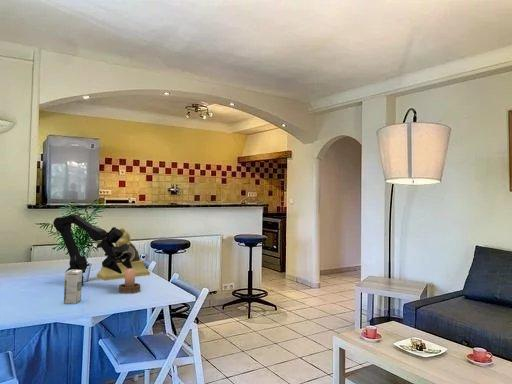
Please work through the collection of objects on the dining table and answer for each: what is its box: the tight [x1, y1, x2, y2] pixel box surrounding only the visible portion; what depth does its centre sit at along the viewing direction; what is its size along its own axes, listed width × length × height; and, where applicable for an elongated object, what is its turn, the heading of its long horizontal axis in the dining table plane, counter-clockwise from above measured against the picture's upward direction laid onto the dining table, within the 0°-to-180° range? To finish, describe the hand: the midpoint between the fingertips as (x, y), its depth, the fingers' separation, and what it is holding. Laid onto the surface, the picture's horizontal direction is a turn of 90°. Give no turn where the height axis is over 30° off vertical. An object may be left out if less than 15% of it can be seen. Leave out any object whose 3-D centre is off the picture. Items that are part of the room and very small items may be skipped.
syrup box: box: [63, 270, 83, 305], centre depth 177 cm, size 6×6×14 cm
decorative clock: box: [96, 227, 151, 282], centre depth 235 cm, size 28×13×30 cm, turn 130°
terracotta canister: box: [124, 268, 136, 287], centre depth 199 cm, size 5×5×11 cm
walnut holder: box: [118, 282, 141, 295], centre depth 198 cm, size 10×10×3 cm
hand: (126, 271), depth 199 cm, fingers open, 9 cm apart
